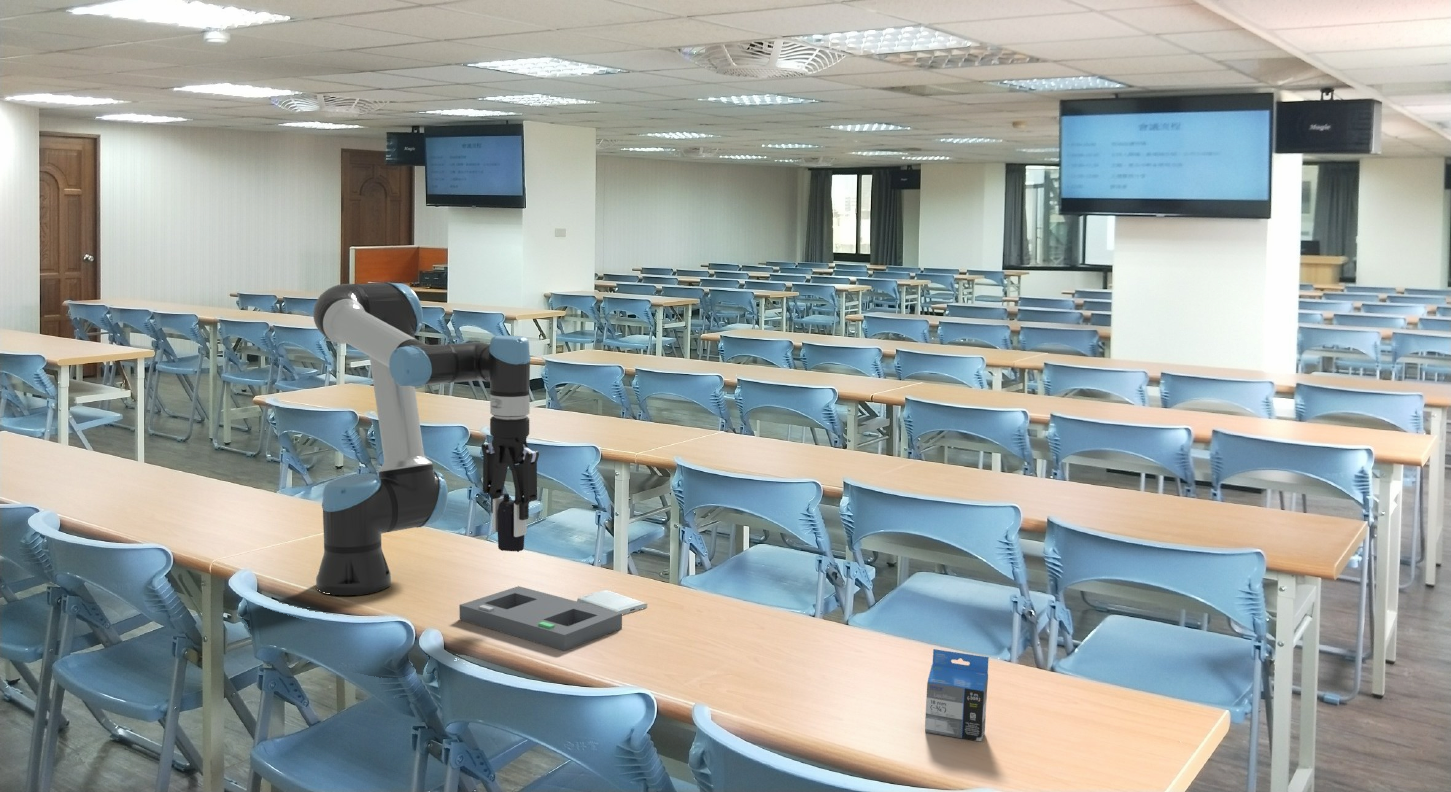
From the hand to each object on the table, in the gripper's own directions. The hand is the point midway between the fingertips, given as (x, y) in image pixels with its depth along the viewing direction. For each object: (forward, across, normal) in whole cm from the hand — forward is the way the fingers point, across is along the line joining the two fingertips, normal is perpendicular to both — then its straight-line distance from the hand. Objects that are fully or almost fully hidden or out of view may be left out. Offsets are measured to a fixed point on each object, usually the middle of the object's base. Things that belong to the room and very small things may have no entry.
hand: (509, 532), depth 235 cm
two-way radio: (+4, 0, 0) cm, 4 cm away
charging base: (+17, +8, 0) cm, 19 cm away
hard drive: (+18, +11, +18) cm, 27 cm away
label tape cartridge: (+16, +94, +3) cm, 96 cm away
